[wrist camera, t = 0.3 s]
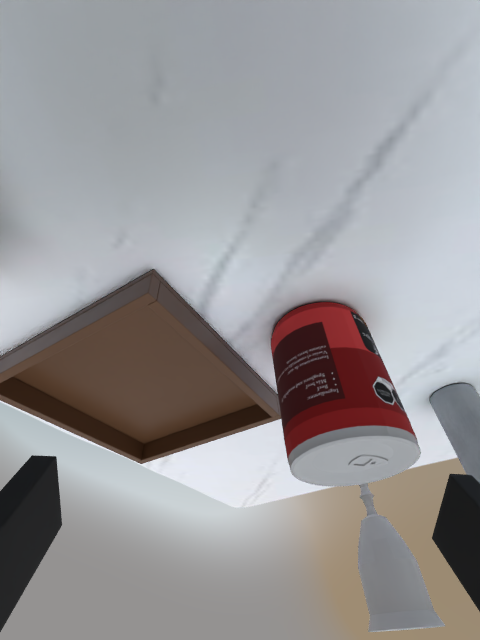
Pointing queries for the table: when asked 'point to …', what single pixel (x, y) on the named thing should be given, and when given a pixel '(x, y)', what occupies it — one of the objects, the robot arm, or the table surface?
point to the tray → (137, 375)
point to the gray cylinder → (461, 423)
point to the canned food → (338, 400)
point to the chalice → (391, 576)
